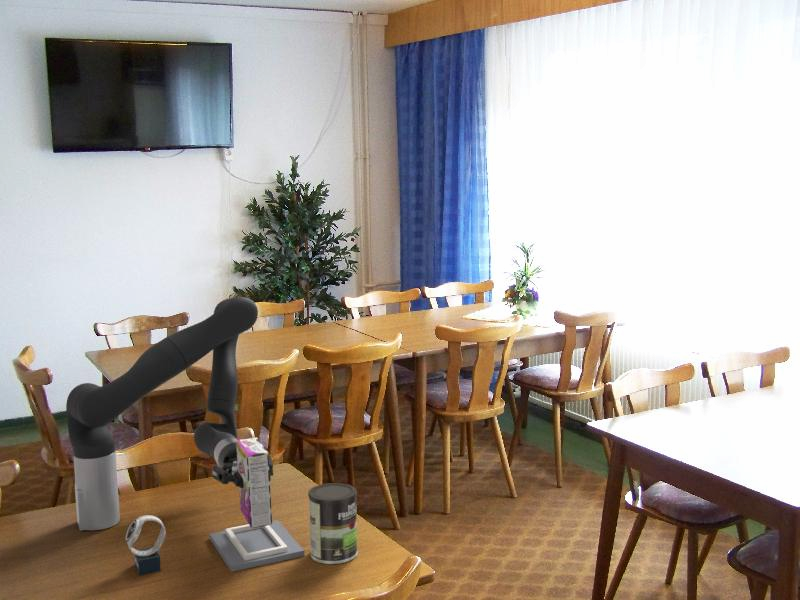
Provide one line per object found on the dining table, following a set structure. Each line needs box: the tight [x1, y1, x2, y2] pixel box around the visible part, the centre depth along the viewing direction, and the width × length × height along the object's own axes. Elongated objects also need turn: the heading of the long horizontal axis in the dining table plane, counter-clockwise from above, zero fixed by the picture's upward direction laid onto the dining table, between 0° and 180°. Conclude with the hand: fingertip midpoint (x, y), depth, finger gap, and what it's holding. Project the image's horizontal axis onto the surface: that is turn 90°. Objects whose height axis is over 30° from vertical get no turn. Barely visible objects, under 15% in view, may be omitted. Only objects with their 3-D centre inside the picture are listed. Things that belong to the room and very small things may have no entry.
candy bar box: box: [236, 436, 273, 528], centre depth 182 cm, size 11×5×16 cm, turn 23°
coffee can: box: [307, 482, 359, 565], centre depth 180 cm, size 10×10×14 cm
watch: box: [124, 514, 167, 576], centre depth 174 cm, size 6×8×11 cm
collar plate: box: [209, 519, 305, 573], centre depth 184 cm, size 16×18×2 cm
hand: (254, 481), depth 182 cm, fingers closed on candy bar box, 5 cm apart
